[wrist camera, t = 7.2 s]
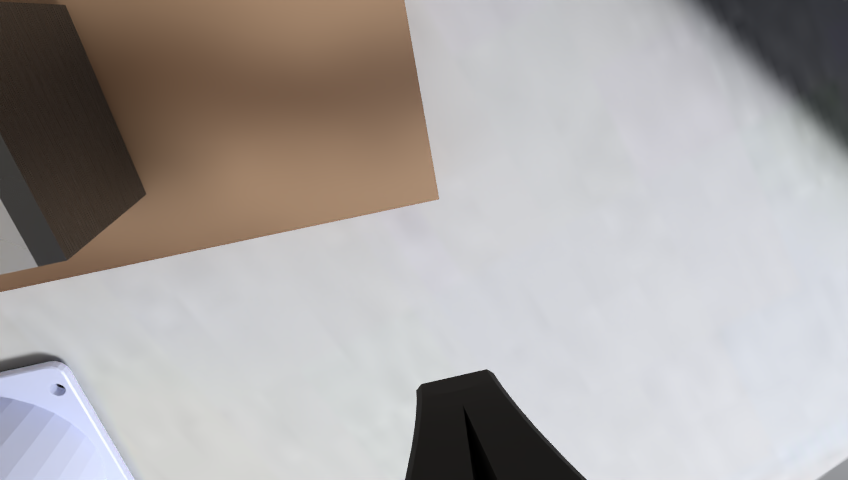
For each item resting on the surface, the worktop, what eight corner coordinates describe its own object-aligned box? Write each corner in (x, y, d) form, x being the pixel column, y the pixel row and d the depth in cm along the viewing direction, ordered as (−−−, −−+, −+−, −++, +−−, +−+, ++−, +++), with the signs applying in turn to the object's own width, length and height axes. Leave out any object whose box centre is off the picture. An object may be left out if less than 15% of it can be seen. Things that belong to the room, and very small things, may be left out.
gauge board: (432, 185, 17) (467, 260, 12) (-104, 297, 17) (-327, 432, 11) (374, -138, 14) (387, -244, 8) (-323, -10, 13) (-819, -31, 7)
